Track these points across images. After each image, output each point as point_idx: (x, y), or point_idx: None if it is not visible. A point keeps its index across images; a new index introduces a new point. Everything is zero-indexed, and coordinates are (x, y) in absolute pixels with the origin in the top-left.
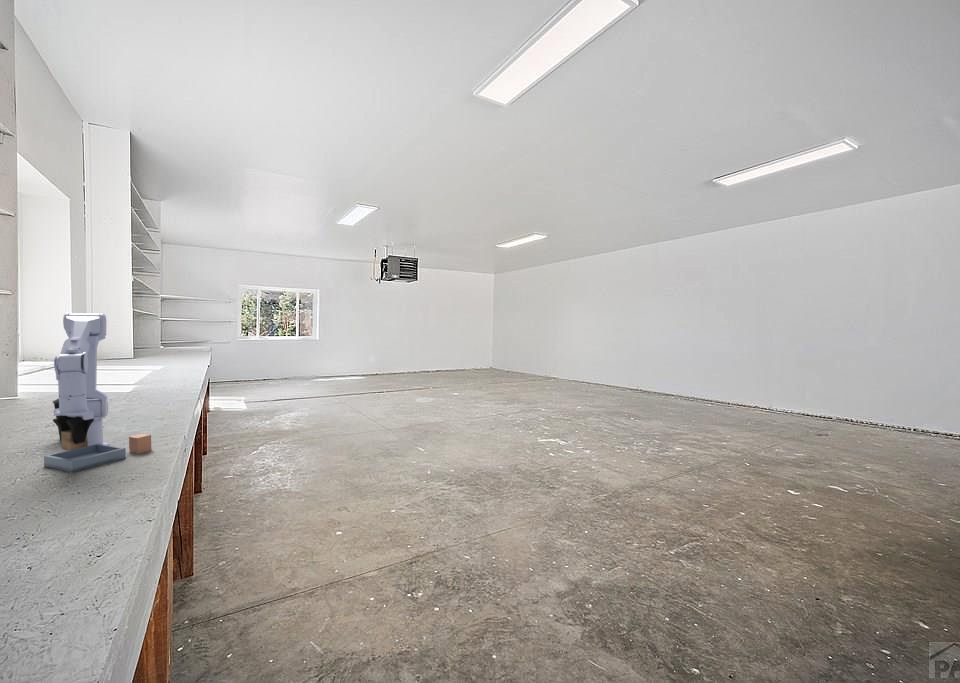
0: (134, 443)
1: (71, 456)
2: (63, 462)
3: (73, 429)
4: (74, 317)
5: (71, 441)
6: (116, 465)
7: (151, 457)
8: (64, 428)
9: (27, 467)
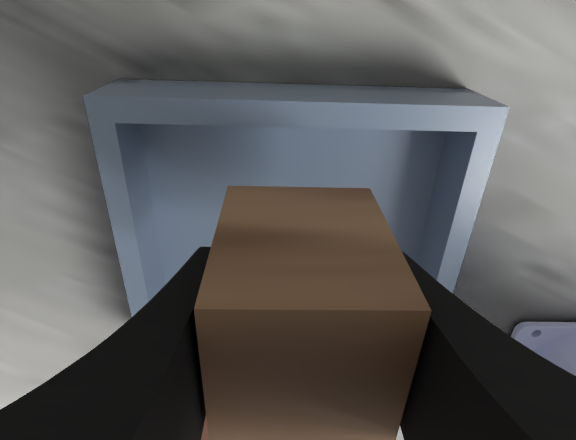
0: (207, 437)
1: (426, 236)
2: (221, 94)
3: (76, 366)
4: None
5: (214, 240)
6: (44, 252)
7: (51, 374)
8: (445, 376)
9: (573, 27)
